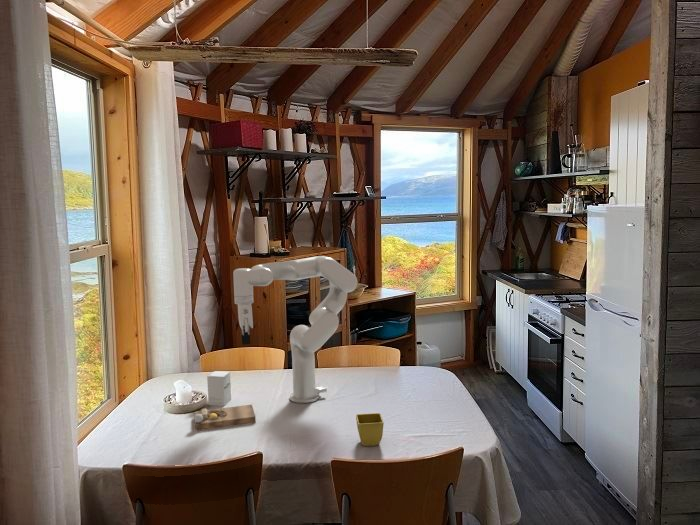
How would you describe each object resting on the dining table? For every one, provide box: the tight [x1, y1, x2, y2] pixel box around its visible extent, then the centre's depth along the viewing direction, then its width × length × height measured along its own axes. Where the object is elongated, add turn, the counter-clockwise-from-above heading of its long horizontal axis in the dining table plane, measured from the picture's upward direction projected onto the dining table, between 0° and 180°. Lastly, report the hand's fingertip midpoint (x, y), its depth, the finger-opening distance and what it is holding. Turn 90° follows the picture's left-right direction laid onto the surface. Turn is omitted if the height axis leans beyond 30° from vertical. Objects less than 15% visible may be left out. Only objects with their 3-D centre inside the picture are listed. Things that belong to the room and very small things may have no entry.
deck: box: [194, 404, 257, 431], centre depth 210 cm, size 22×13×4 cm, turn 106°
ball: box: [209, 413, 217, 418], centre depth 209 cm, size 3×3×3 cm
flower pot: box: [355, 412, 385, 447], centre depth 187 cm, size 9×9×9 cm
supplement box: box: [206, 370, 232, 407], centre depth 228 cm, size 7×7×13 cm
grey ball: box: [193, 414, 203, 423], centre depth 202 cm, size 3×3×3 cm
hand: (246, 343), depth 218 cm, fingers closed
